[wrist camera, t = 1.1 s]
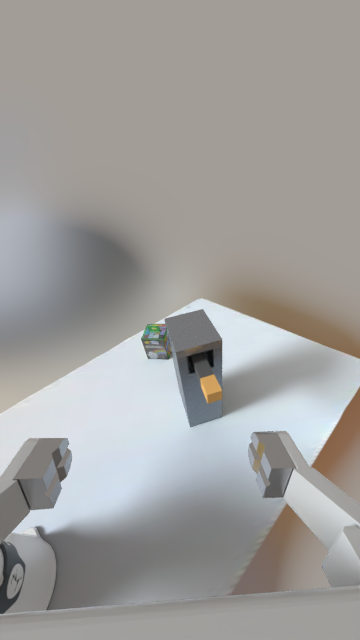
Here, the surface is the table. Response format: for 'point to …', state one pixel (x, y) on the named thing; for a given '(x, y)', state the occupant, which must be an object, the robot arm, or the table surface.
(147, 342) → the chalk box
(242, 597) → the robot arm
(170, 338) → the housing
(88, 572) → the table surface
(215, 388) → the plug rod
